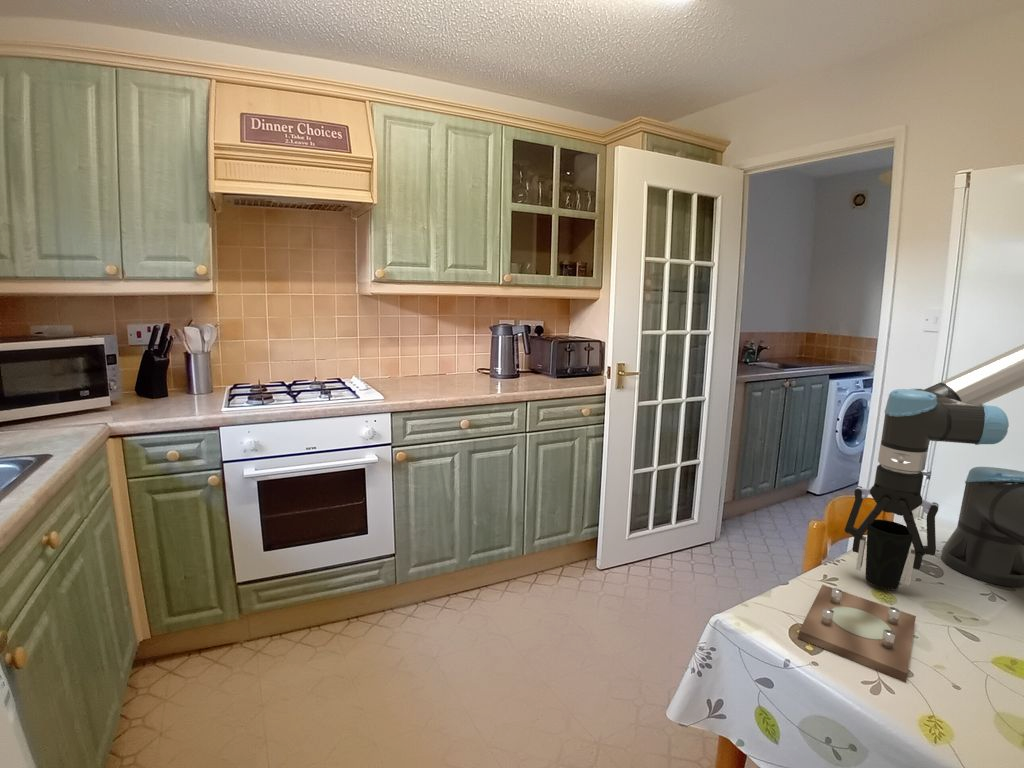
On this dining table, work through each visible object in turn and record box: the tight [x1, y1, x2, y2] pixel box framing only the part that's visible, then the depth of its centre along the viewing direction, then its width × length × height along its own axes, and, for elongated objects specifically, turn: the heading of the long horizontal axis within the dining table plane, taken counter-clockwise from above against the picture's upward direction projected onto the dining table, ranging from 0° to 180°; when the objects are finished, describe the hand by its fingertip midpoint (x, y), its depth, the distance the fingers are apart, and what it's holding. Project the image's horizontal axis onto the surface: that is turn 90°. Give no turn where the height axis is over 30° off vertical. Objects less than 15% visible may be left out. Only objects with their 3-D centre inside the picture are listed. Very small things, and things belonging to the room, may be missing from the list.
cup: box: [864, 518, 912, 591], centre depth 108 cm, size 8×8×12 cm
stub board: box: [797, 584, 917, 683], centre depth 93 cm, size 15×20×4 cm
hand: (882, 574), depth 108 cm, fingers closed on cup, 8 cm apart
